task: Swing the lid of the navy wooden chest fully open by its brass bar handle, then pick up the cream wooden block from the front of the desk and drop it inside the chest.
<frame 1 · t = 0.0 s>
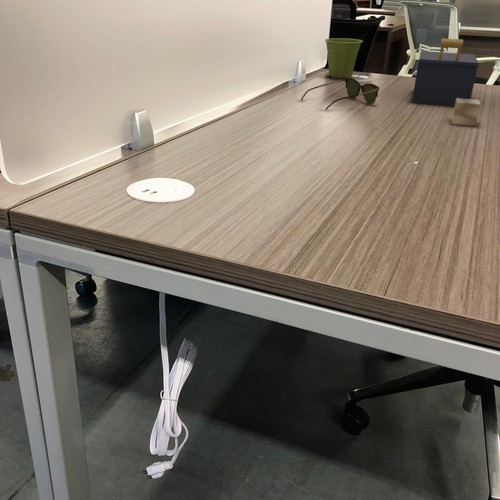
sunglasses: (337, 103, 129), on the table
lid: (449, 48, 131), point 13 cm above the table, hinge at 0.0°
chest: (439, 98, 137), on the table
plant pot: (339, 77, 165), on the table
block: (463, 122, 113), on the table
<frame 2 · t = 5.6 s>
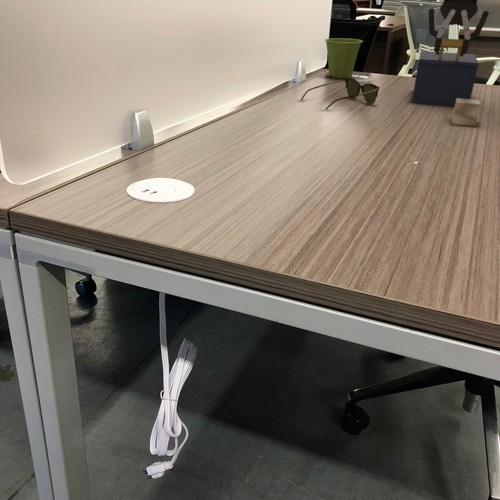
hand: (449, 54, 125), 12 cm above the table, tool pointing down, fingers closed on lid, 5 cm apart
lid: (449, 48, 131), point 13 cm above the table, hinge at -0.1°, touching gripper
everything else where it was.
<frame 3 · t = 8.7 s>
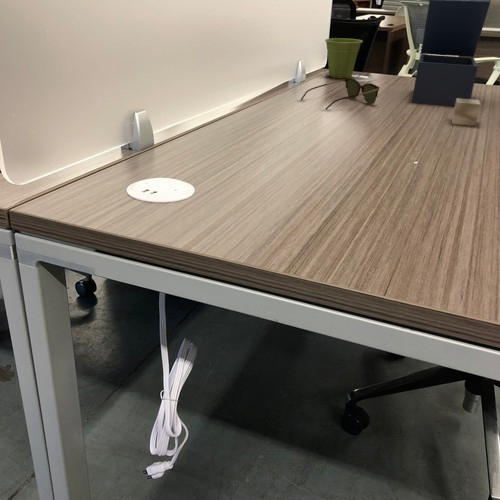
lid: (454, 21, 132), point 19 cm above the table, hinge at 47.3°, touching gripper
everything else where it was.
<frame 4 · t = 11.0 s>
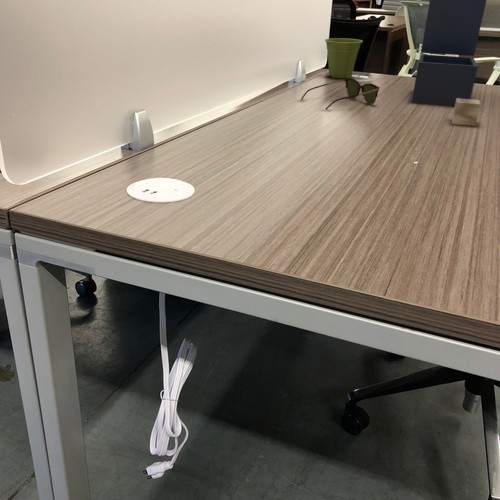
lid: (454, 16, 137), point 20 cm above the table, hinge at 86.5°, touching gripper
everything else where it was.
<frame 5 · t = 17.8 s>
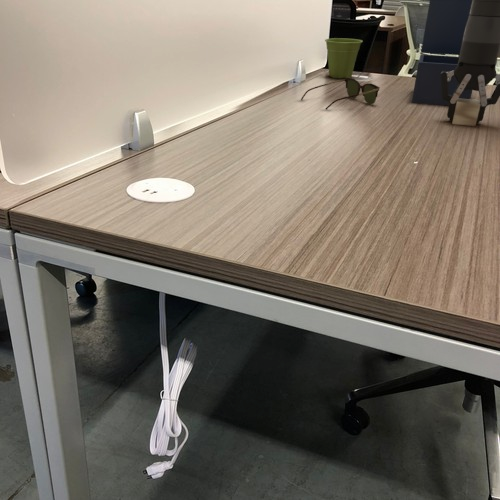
hand: (463, 121, 113), 0 cm above the table, tool pointing down, fingers closed on block, 4 cm apart
lid: (454, 16, 137), point 20 cm above the table, hinge at 87.0°
block: (463, 122, 113), on the table, touching gripper
everything else where it was.
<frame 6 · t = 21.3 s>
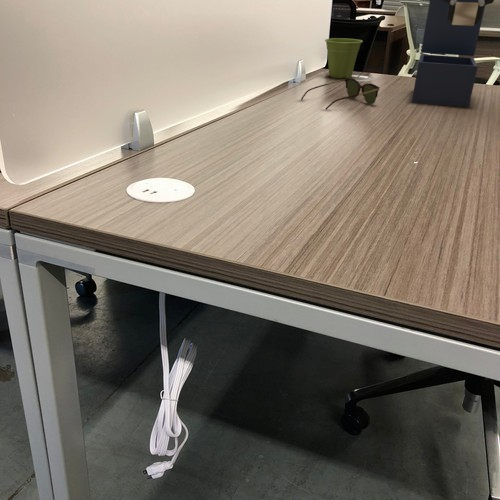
hand: (462, 22, 120), 19 cm above the table, tool pointing down, fingers closed on block, 4 cm apart
block: (462, 24, 120), point 19 cm above the table, touching gripper
everything else where it was.
when the fingers open (10 cm above the table, at t = 24.8 s): block drops 9 cm, resting on chest.
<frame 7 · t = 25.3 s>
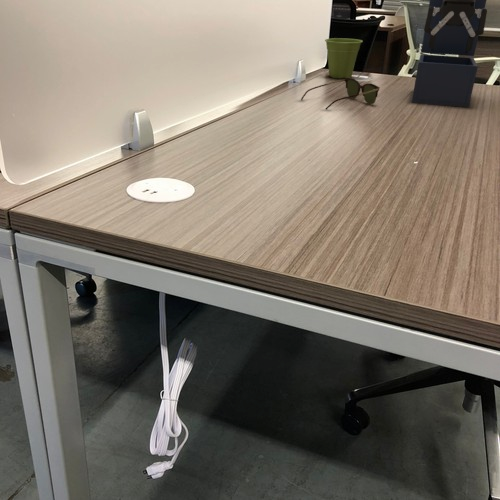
hand: (449, 51, 131), 12 cm above the table, tool pointing down, fingers open, 8 cm apart
block: (440, 95, 136), point 1 cm above the table, touching chest
everything else where it was.
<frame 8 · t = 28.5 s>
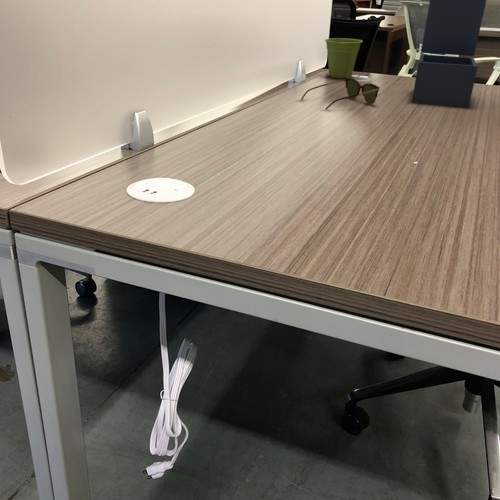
nothing on the table moved.
at the end: lid at +87° (first picture: +0°); block inside the target area in the chest (1.0 cm from its centre), point 1.0 cm above the chest's base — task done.
